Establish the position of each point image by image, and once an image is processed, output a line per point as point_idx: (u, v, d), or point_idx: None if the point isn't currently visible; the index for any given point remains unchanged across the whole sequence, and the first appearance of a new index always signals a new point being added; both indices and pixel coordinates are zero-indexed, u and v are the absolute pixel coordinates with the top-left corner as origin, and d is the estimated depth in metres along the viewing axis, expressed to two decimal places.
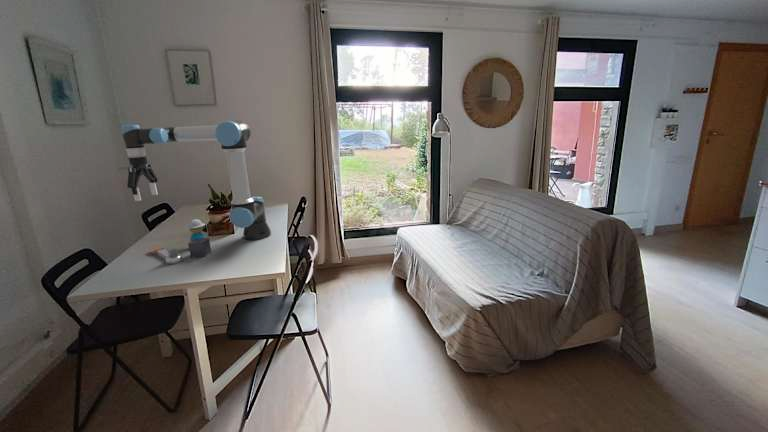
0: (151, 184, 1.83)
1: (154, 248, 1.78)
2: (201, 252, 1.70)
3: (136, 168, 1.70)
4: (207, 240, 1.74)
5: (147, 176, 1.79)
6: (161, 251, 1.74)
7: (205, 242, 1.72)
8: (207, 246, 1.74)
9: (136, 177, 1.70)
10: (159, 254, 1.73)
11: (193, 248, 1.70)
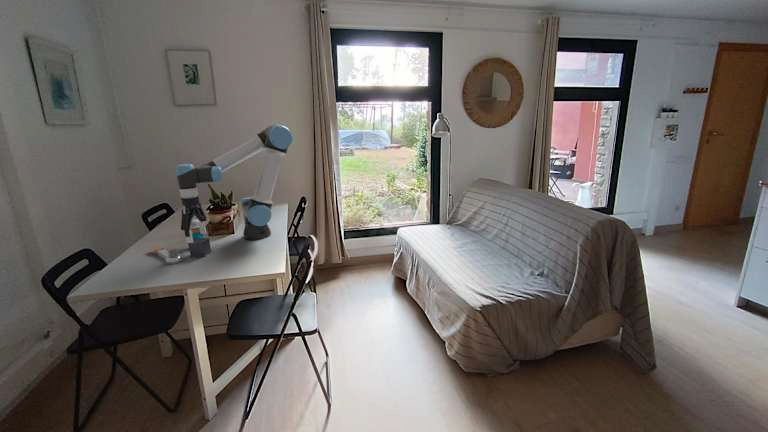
0: (200, 223, 1.76)
1: (154, 248, 1.78)
2: (201, 252, 1.70)
3: (189, 209, 1.64)
4: (207, 240, 1.74)
5: (197, 215, 1.73)
6: (161, 251, 1.74)
7: (205, 242, 1.72)
8: (207, 246, 1.74)
9: (189, 218, 1.64)
10: (159, 254, 1.73)
11: (193, 248, 1.70)
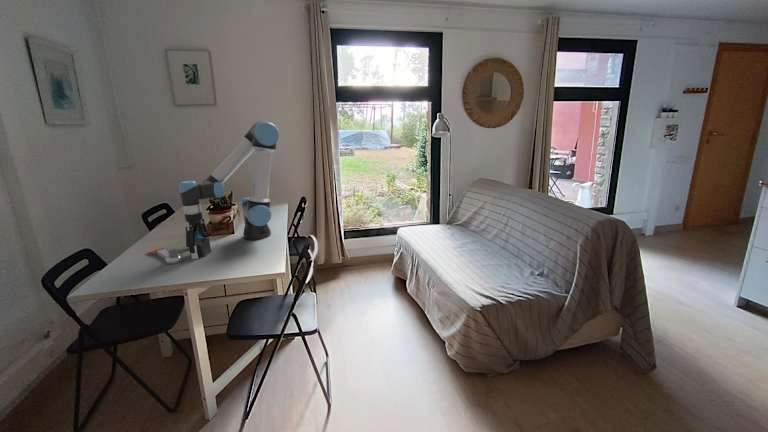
0: None
1: (154, 248, 1.78)
2: (201, 252, 1.70)
3: (192, 225, 1.66)
4: (207, 240, 1.74)
5: (200, 231, 1.75)
6: (161, 251, 1.74)
7: (205, 242, 1.72)
8: (207, 246, 1.74)
9: (193, 235, 1.67)
10: (159, 254, 1.73)
11: None
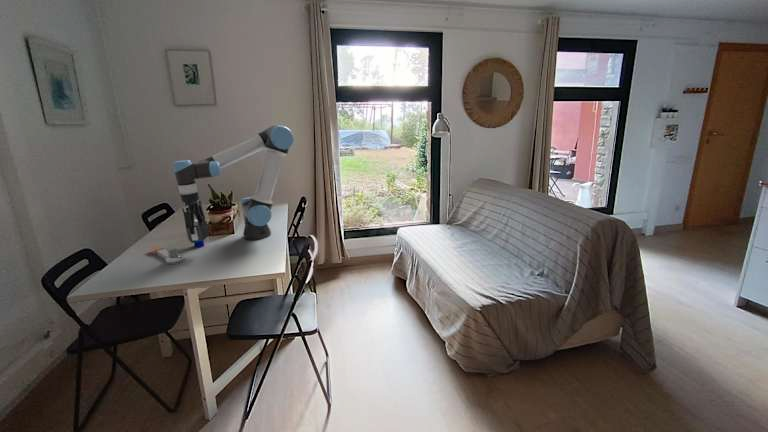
0: None
1: (154, 248, 1.78)
2: (199, 235, 1.68)
3: (189, 206, 1.63)
4: (205, 223, 1.72)
5: (196, 214, 1.71)
6: (161, 251, 1.74)
7: (203, 225, 1.70)
8: (205, 229, 1.72)
9: (191, 216, 1.65)
10: (159, 254, 1.73)
11: None
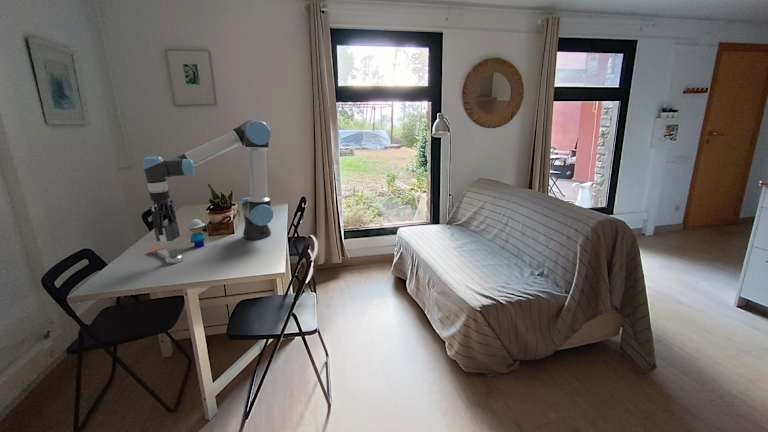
0: None
1: (154, 248, 1.78)
2: (168, 236, 1.59)
3: (158, 205, 1.55)
4: (175, 224, 1.63)
5: (167, 213, 1.62)
6: (161, 251, 1.74)
7: (172, 225, 1.61)
8: (175, 230, 1.63)
9: (160, 215, 1.56)
10: (159, 254, 1.73)
11: None
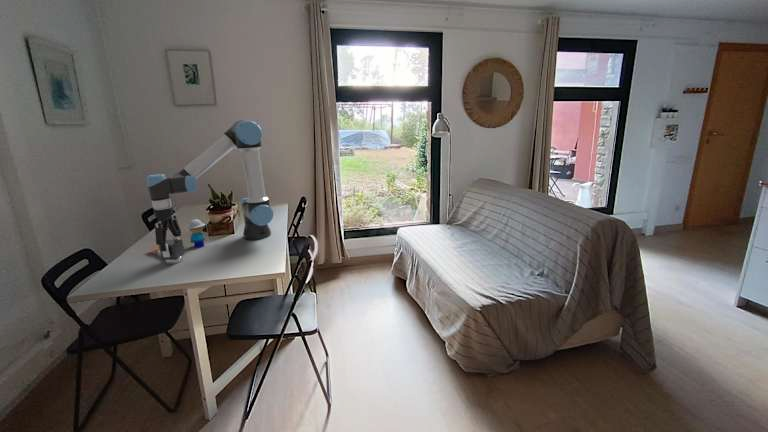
0: (174, 238, 1.68)
1: (154, 248, 1.78)
2: (173, 254, 1.62)
3: (162, 222, 1.57)
4: (180, 242, 1.66)
5: (171, 229, 1.65)
6: None
7: (177, 244, 1.64)
8: (180, 247, 1.66)
9: (163, 232, 1.58)
10: (159, 254, 1.73)
11: None
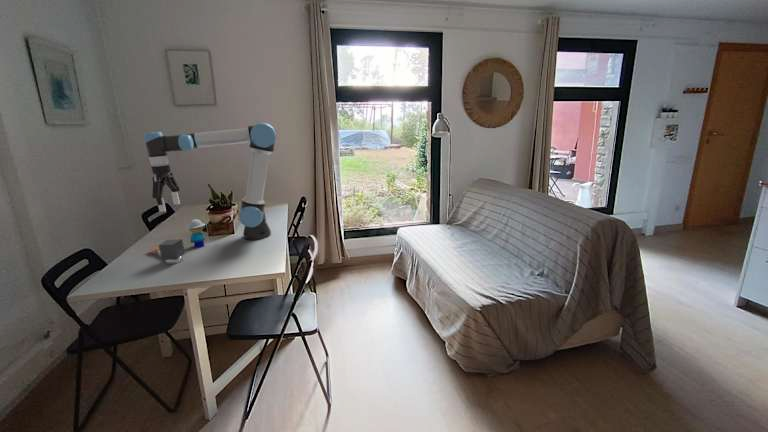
0: (173, 193, 1.75)
1: (154, 248, 1.78)
2: (173, 254, 1.62)
3: (160, 177, 1.63)
4: (180, 242, 1.66)
5: (169, 185, 1.72)
6: None
7: (177, 244, 1.64)
8: (180, 247, 1.66)
9: (160, 187, 1.63)
10: (159, 254, 1.73)
11: (164, 250, 1.61)
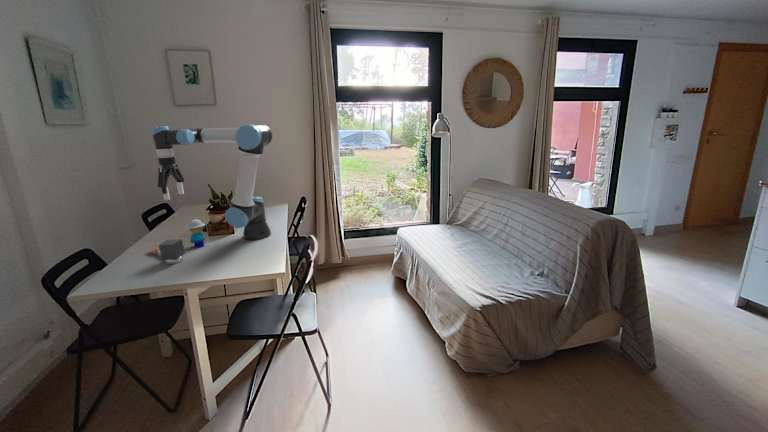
0: (178, 184, 1.88)
1: (154, 248, 1.78)
2: (173, 254, 1.62)
3: (165, 168, 1.76)
4: (180, 242, 1.66)
5: (175, 176, 1.85)
6: None
7: (177, 244, 1.64)
8: (180, 247, 1.66)
9: (165, 177, 1.76)
10: (159, 254, 1.73)
11: (164, 250, 1.61)
